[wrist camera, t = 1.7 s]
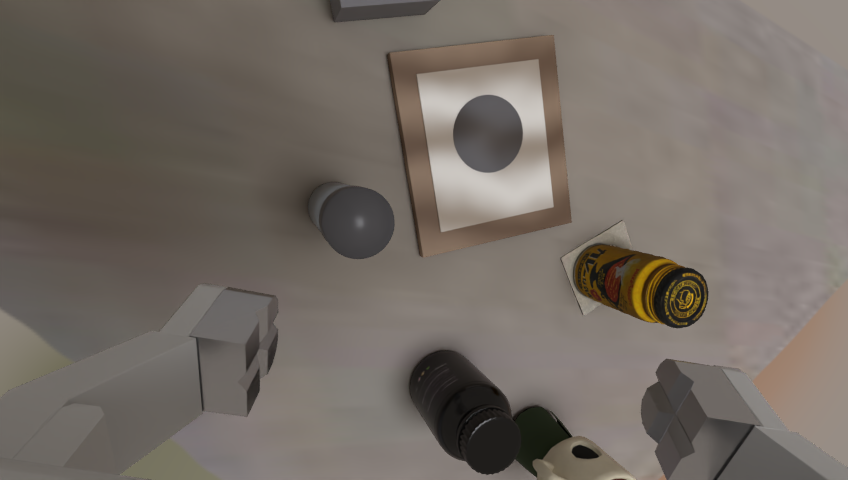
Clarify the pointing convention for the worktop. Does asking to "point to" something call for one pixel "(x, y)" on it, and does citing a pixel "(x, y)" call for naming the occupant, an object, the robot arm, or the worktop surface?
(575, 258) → the condiment
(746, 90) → the worktop surface
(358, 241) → the grey cylinder
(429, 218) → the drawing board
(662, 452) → the robot arm
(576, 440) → the character mug
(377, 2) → the button box
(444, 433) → the supplement bottle
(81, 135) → the worktop surface
